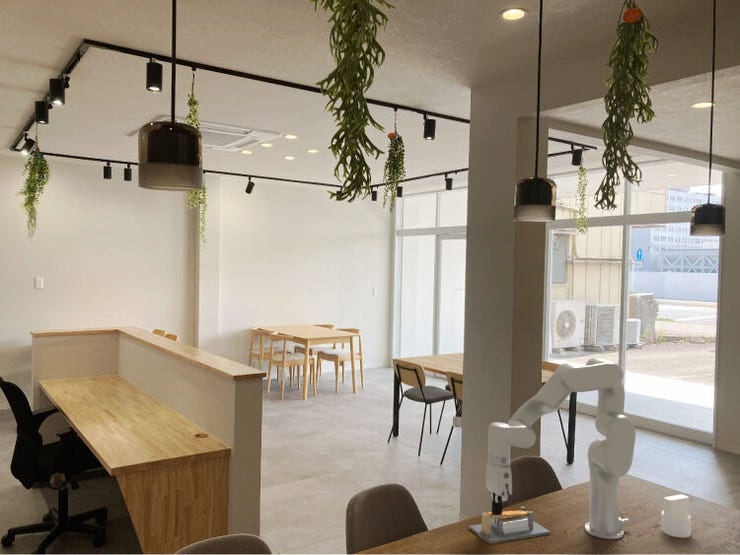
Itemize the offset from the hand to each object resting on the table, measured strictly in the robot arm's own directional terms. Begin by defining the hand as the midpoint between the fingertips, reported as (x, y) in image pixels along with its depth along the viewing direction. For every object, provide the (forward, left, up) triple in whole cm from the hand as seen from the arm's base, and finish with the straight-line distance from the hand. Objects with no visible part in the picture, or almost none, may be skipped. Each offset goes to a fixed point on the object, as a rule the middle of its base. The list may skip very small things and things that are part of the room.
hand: (496, 512), depth 204 cm
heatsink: (-5, 0, -7) cm, 8 cm away
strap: (-5, 0, -1) cm, 5 cm away
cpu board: (-5, 0, -7) cm, 8 cm away
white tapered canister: (-60, +19, -7) cm, 63 cm away
